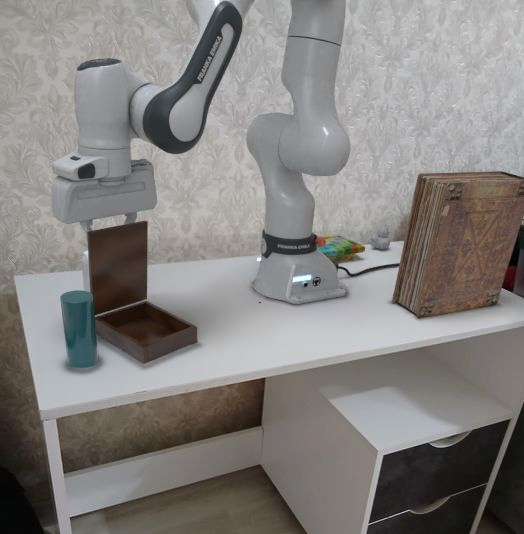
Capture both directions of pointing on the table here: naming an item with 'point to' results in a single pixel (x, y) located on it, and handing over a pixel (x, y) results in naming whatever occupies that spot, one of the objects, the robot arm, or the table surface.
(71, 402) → the table surface
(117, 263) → the lid
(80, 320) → the canister
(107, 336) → the chest
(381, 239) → the grey figurine
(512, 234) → the book
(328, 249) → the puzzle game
